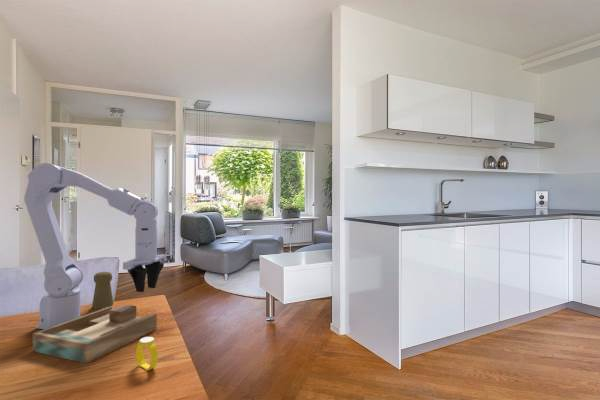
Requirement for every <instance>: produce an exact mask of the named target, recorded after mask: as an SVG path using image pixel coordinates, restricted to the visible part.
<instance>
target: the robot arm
mask: <svg viewBox="0 0 600 400" xmlns="http://www.w3.org/2000/svg"><path fill="white" fill-rule="evenodd" d="M27 179H28V182H27V186H26V190H25V193H24V197H23V198H24V199H23V200H24V203H25V206H26V209H27V211H28V215H29V217H30V220H31V223H32V226H33V230H34V231H35V234H36V238H37V240H38V243H39V246H40V249H41V251H42V255H43V258H44V260H45V265H44V269H43V275H44V283H43V287H44V290H45V291H46V293H45V294H44V295H43V296H42V298H41V299H40V302H39V306H38V307H39V308H38V309H39V312H38V313H39V324H38V325H36V326H35V328H36V329H40V330H44V329H47V328H50V327H53V326H55V325H58V324H61V323H64V322H67V321H70V320H73V319H75V318H78V317H81V288H80V286H79V285H81V283H82V282H83V279H84V274H83V273H84V272H83V270H81V268H80V267H79V266H77V264H76V262H75V259H73V258H72V257H71V256H70V254H69V252H68V249H67V246H66V242H65V239H64V237H63V234H62V231H61V227H60V225H59V222H58V220H57V216H56V213H55V211H54V207H53V205H52V201H53V199H54V198H55V197H56V195H57V194H59V192H61V191H63V190H64V189H65V188H67V187H78V188H81V189H83V190H85V191H87V192H90V193H92V194H94V195H97V196H99V197H101V198H104V199H105V200H106V201H107V203H108V206H109V207H111V208H113V209H115V210H117V211H120V212H122V213H124V214H126V215H129V216H133V217H134V219H135V230H134V231H135V233H134V234H135V235H134V236H135V243H134V244H135V246H134V248H135V254H134V255H135V257H134V258H132V259H130V260H126V261H123V263H122V270H125V271H127V272H128V274H129V276H130V277H131V278H132V281H133V283H134V288H135V292H137V293H144V292H145V287H146V286H145V285H146V280H147V288H148V289H155V288H156V286H157V282H158V278H159V276H160V273H161V272H162V269H163V268H164V265H165V263H164V262H165V261H167V254H166V253H165V254H163V253H161V254H157V253H158V226H157V225H158V223H157V216H158V214H159V209H158V206H157V205H156V204H154V203H153V202H152V201H150V200H148V201H145V200H146V197H144V196H142V197H140V196H138V195H135V194H134V193H132V192H130V189H128V188H125V187H124V188H121V187H118V188H115V189H113V188H111V187H109V186H107V185H106V184H104V183H101V182H100V181H97V180H95V179H94V178H91V177H90V176H88V175H86V174H84V173H81V172H78V171H76V170H73V169H70V168H69V169H68V168H67V167H65V166H61V165H55V164H53V163H49V162H43V163H39V164H37V165H36V166H35V167H34V168H33V169H32V170H30V172H29V173H27ZM146 277H147V279H146Z"/></svg>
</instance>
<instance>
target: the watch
mask: <svg viewBox="0 0 600 400" xmlns="http://www.w3.org/2000/svg"><path fill="white" fill-rule="evenodd" d="M145 346H146V347H147V349H148V351H149V354H150V363H147V362H146V359H145V357H144V352H143V351H144V347H145ZM158 354H159V353H158V348H157V345H156V344H155V338H154V337H153V336H144V337H142V338H140V339H139V341H138V343H137V344H136V346H135V356H136V357H135V358H136V361H137V362H136V363H138V366H139V367H140V368H142V369H144V370H146V371H147V372H148V371H150V370H153V369H154V368H155V367H156V366H157V365H158V362H159V361H158V360H159V357H158Z"/></svg>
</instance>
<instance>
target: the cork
mask: <svg viewBox="0 0 600 400" xmlns="http://www.w3.org/2000/svg"><path fill="white" fill-rule="evenodd" d="M112 280H113V273H112V272H110V271H99V272H97V273H95V274H94V276H93V282H94V283H95V285H94V293H93V298H92V299H93V300H92V305H91V309H93V308H95V309H94V310H101V309H100V308H106V307H110V306H112V305H113V304H114V299H113V292H112V286H111V285H112V284H111V282H112ZM113 306H114V305H113ZM113 306H112V307H113Z"/></svg>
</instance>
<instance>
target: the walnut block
mask: <svg viewBox="0 0 600 400" xmlns="http://www.w3.org/2000/svg"><path fill="white" fill-rule="evenodd" d="M136 316H137V305H131V304H122V305H120V306H118V307H115V308H112V309H111V310H109V322H115V323H123V322H126V321H128V320H131V319H133V318H135V317H136Z"/></svg>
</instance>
